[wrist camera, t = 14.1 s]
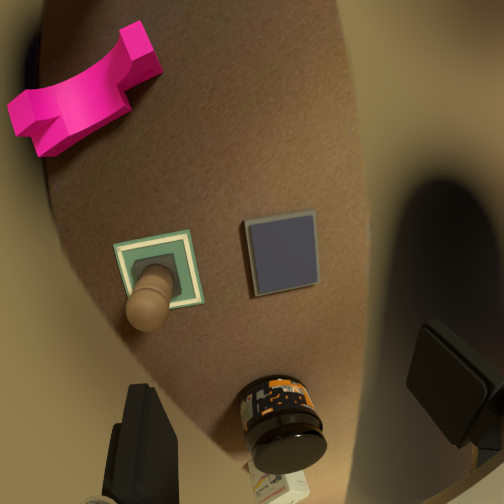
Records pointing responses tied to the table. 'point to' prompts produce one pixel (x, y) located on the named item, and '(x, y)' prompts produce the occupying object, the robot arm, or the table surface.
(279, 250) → the ink pad
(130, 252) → the mat
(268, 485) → the ink box
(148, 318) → the stamp
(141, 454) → the robot arm
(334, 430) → the table surface
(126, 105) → the toy block
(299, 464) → the supplement container
